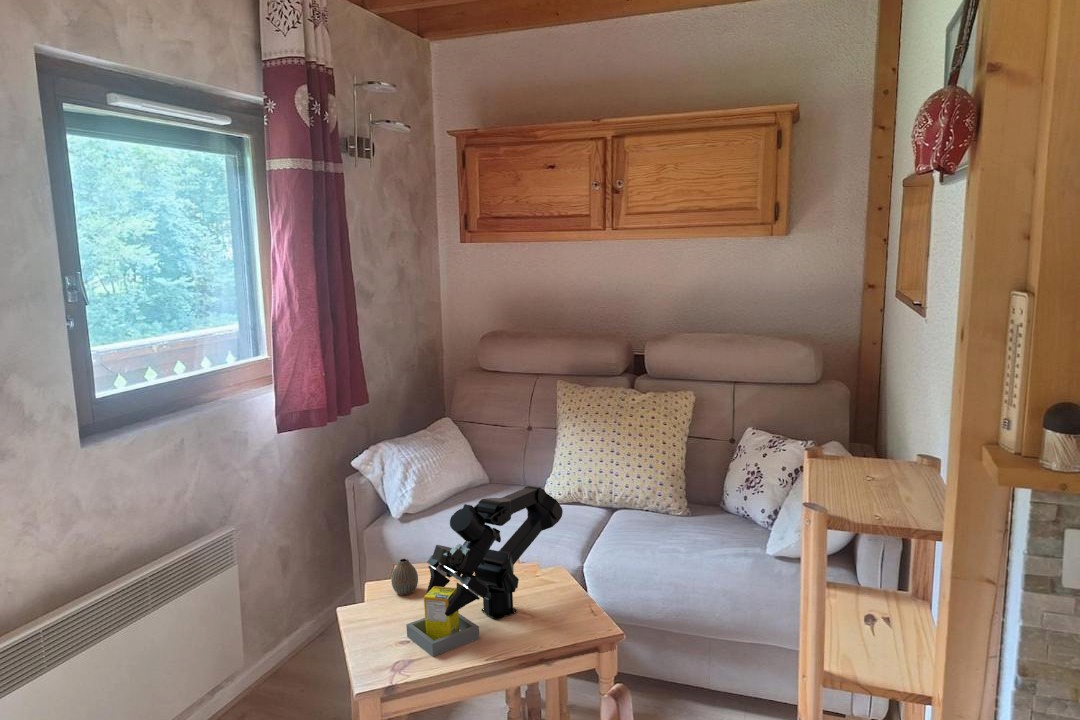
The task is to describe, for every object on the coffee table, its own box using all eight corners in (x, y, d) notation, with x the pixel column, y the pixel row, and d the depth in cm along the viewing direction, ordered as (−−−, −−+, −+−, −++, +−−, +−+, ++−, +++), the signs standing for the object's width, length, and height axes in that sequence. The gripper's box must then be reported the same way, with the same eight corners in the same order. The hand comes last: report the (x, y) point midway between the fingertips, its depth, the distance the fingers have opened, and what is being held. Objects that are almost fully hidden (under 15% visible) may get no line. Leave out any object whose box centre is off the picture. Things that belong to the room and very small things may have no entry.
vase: (413, 598, 191) (411, 566, 190) (388, 597, 193) (385, 564, 192) (422, 587, 198) (420, 555, 197) (398, 585, 199) (396, 554, 198)
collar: (452, 620, 179) (451, 608, 178) (479, 638, 169) (478, 626, 169) (407, 636, 171) (406, 624, 171) (432, 656, 162) (432, 643, 162)
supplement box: (460, 632, 173) (457, 587, 171) (450, 645, 167) (448, 598, 166) (436, 630, 174) (433, 585, 173) (426, 642, 168) (423, 596, 167)
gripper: (432, 521, 177) (392, 578, 172) (474, 542, 162) (432, 605, 157) (462, 544, 183) (424, 600, 177) (505, 567, 168) (466, 629, 163)
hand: (435, 608), depth 169 cm, fingers open, 9 cm apart
